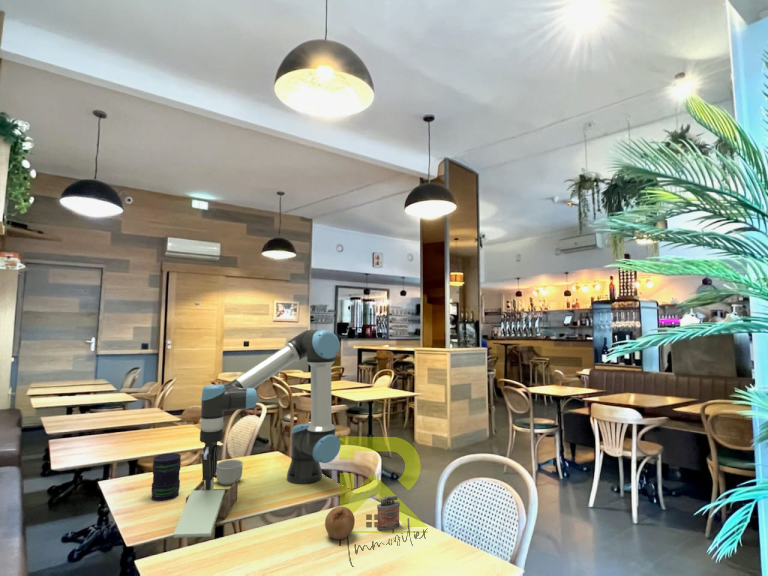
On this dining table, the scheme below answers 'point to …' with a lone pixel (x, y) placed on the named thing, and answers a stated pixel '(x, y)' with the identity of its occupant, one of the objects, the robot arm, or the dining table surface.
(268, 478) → the dining table surface
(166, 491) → the dark blue barrel
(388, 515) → the lighter
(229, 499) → the box
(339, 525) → the brown rounded piece
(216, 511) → the lid
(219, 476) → the teacup
